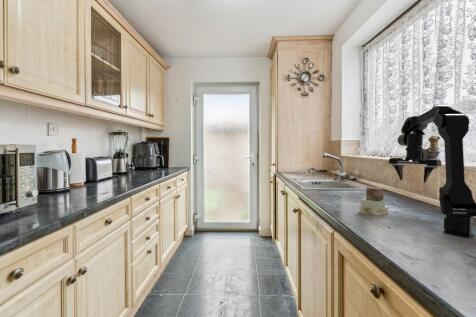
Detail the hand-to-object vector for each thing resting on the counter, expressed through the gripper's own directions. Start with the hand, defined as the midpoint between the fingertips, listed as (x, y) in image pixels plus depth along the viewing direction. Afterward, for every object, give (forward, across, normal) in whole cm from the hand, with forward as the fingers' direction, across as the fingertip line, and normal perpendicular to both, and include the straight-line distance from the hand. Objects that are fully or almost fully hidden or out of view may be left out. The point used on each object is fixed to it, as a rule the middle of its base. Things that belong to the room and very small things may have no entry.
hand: (412, 181), depth 119 cm
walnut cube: (+8, +8, +18) cm, 21 cm away
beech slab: (+14, +8, +18) cm, 24 cm away
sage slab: (+10, +8, +18) cm, 22 cm away
